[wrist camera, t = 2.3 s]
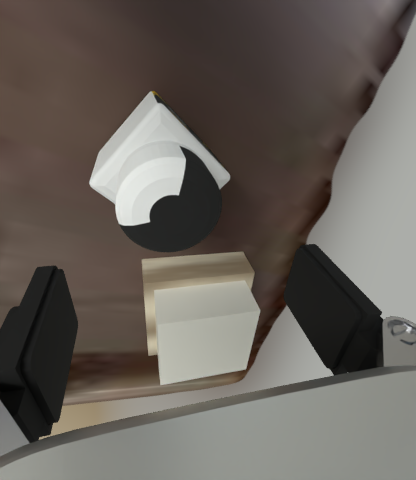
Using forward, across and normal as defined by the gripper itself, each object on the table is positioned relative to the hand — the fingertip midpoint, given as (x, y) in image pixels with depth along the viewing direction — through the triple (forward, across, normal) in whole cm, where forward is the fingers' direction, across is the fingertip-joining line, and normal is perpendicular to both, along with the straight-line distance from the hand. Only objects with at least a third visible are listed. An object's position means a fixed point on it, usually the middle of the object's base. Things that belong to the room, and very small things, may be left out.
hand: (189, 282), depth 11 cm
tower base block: (+18, -4, +18) cm, 25 cm away
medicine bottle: (+17, 0, 0) cm, 17 cm away
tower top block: (+13, -4, +18) cm, 22 cm away
